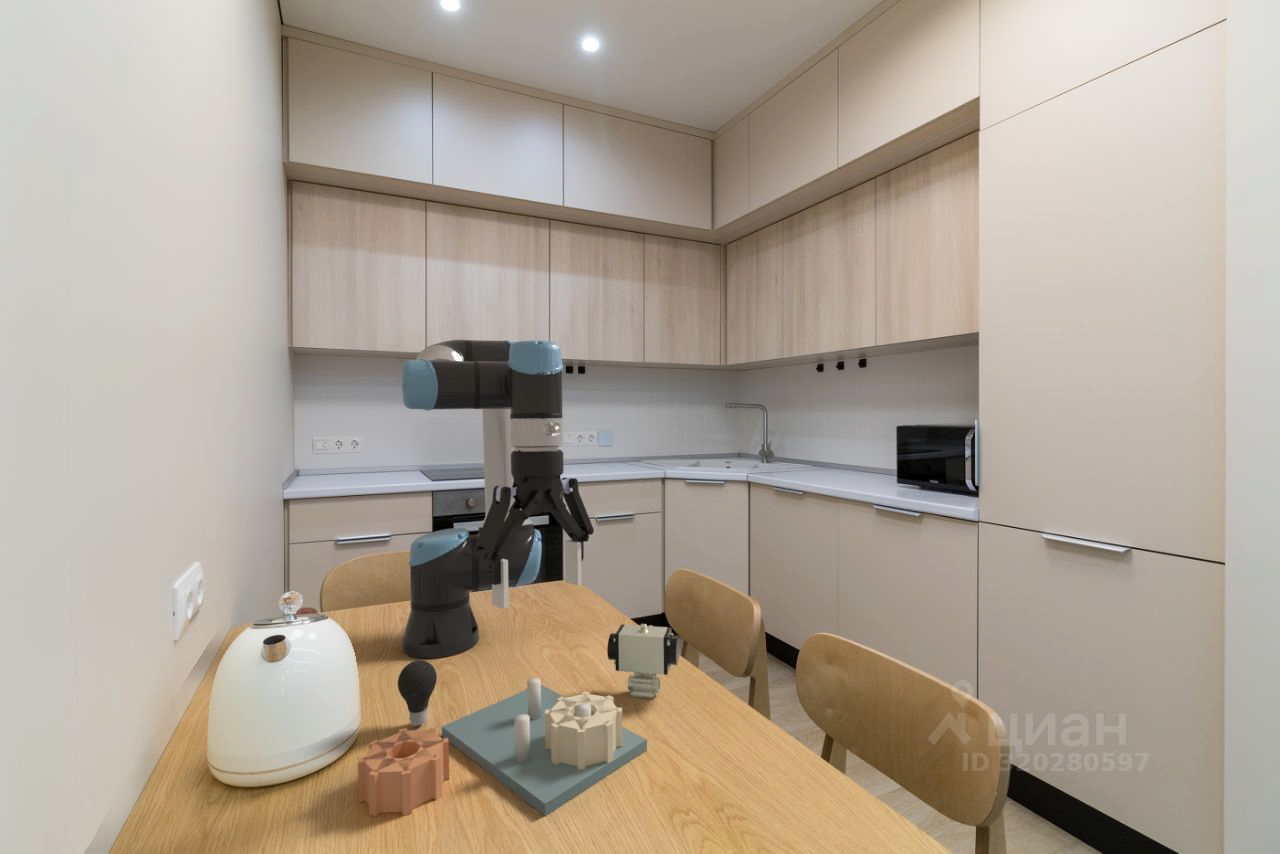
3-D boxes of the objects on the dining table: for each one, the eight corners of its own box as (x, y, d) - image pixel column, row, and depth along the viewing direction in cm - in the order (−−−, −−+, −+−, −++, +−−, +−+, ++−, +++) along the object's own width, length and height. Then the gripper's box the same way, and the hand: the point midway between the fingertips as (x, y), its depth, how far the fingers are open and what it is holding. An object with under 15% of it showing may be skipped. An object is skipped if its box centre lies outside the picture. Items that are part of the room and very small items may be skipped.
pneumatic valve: (676, 704, 94) (675, 631, 94) (607, 697, 96) (606, 627, 96) (680, 688, 100) (680, 619, 99) (615, 682, 102) (614, 615, 102)
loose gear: (348, 789, 73) (347, 751, 73) (424, 754, 81) (423, 719, 81) (381, 829, 66) (380, 786, 66) (462, 786, 74) (461, 748, 74)
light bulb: (445, 719, 90) (444, 656, 90) (420, 738, 85) (419, 672, 85) (416, 713, 92) (414, 652, 92) (390, 732, 87) (388, 667, 86)
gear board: (442, 736, 85) (441, 690, 85) (539, 692, 98) (539, 652, 98) (545, 816, 68) (544, 758, 68) (647, 749, 81) (646, 701, 81)
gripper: (477, 455, 71) (480, 624, 72) (614, 445, 90) (616, 579, 90) (445, 453, 76) (448, 611, 76) (581, 444, 95) (583, 571, 95)
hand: (539, 594), depth 83 cm, fingers open, 13 cm apart
